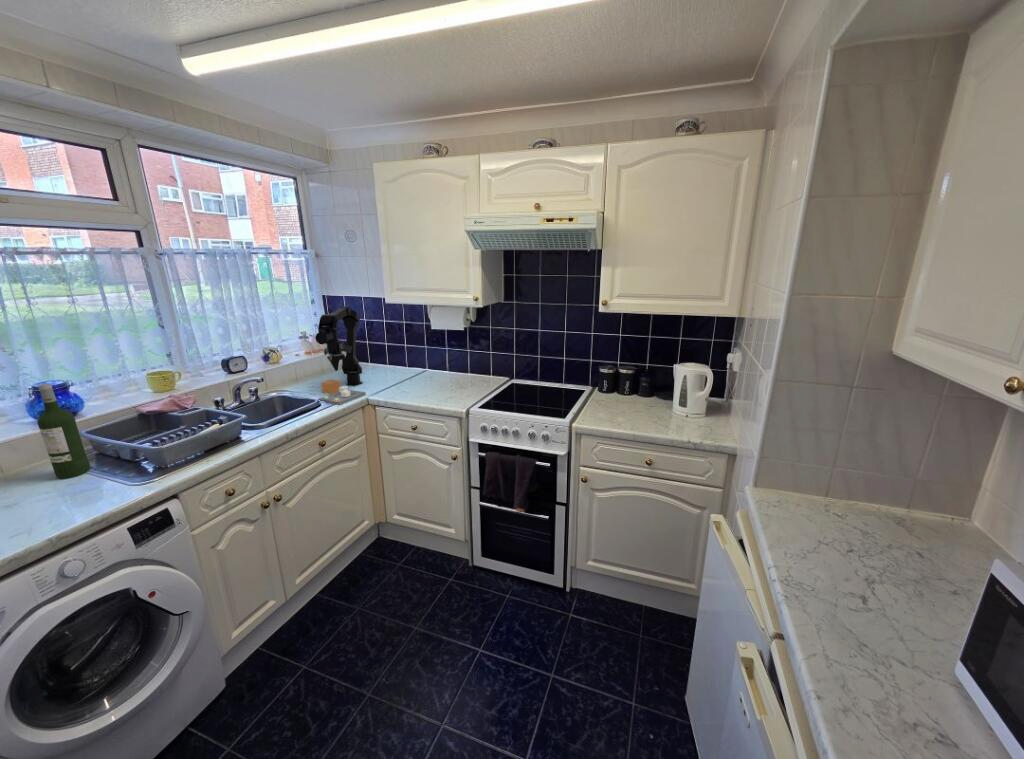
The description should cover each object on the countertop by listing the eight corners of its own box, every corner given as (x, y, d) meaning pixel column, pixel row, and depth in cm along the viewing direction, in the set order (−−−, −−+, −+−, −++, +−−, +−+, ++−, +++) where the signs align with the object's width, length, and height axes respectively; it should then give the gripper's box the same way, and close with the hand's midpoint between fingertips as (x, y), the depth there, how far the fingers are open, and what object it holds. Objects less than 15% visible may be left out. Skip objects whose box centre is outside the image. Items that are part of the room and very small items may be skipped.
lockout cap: (332, 389, 221) (330, 379, 220) (341, 390, 219) (339, 380, 217) (322, 392, 216) (321, 382, 214) (331, 393, 213) (330, 383, 212)
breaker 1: (343, 390, 212) (343, 386, 211) (348, 391, 211) (347, 386, 210) (339, 392, 209) (338, 387, 209) (343, 392, 208) (343, 388, 208)
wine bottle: (49, 480, 130) (16, 389, 122) (69, 468, 137) (40, 382, 129) (78, 477, 131) (48, 387, 123) (97, 466, 139) (70, 380, 131)
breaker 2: (345, 394, 205) (345, 390, 204) (350, 395, 204) (349, 390, 203) (341, 396, 202) (340, 391, 202) (345, 397, 201) (345, 392, 201)
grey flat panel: (344, 391, 216) (344, 387, 215) (365, 394, 211) (365, 390, 210) (318, 401, 201) (317, 396, 201) (340, 405, 196) (339, 400, 195)
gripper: (354, 341, 201) (358, 371, 206) (344, 335, 216) (348, 364, 221) (329, 344, 195) (334, 375, 200) (321, 338, 210) (325, 367, 215)
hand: (336, 370), depth 209 cm, fingers closed
